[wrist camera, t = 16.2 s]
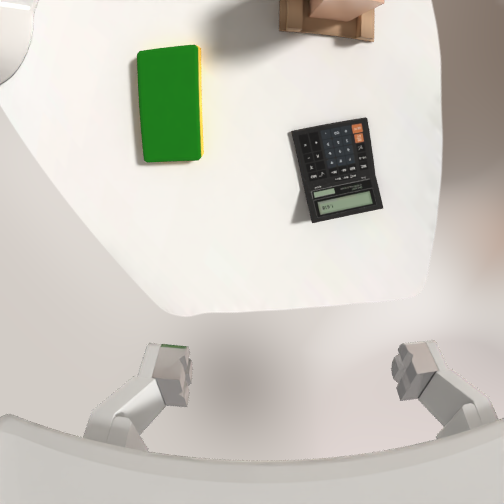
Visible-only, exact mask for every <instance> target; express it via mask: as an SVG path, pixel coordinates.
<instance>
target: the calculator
mask: <svg viewBox="0 0 504 504" xmlns="http://www.w3.org/2000/svg"><path fill="white" fill-rule="evenodd" d="M292 136H293V140H294V144H295V148H296V153H297V157H298V162H299V166H300V171H301V175H302V180H303V185H304V189H305V194H306V198H307V203H308V207H309V211H310V216H311V220H312V223H316V222H320V221H325V220H330V219H334V218H339V217H344V216H349V215H353V214H358V213H363V212H368V211H373V210H378V209H382V208H383V205H382V200H381V196H380V192H379V188H378V184H377V180H376V176H375V169H374V161H373V154H372V146H371V140H370V133H369V127H368V121H367V118H360V119H354V120H347V121H342V122H336V123H330V124H325V125H319V126H314V127H309V128H304V129H299V130H295V131H292Z"/></svg>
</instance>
